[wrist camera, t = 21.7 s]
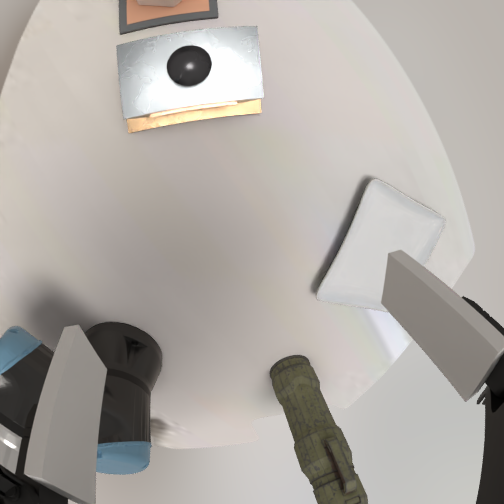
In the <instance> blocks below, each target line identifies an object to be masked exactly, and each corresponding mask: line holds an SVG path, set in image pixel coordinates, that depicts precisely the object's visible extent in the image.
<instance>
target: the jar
mask: <svg viewBox="0 0 504 504" xmlns="http://www.w3.org/2000/svg"><path fill="white" fill-rule="evenodd" d="M136 1H137V3H138V4H139V5H150V6H166V7H175V6H176V5H177V4H178V3H180V2H181V1H182V0H136Z"/></svg>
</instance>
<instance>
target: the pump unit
mask: <svg viewBox="0 0 504 504" xmlns="http://www.w3.org/2000/svg"><path fill="white" fill-rule="evenodd" d="M116 47H117V62H118V74H119V85H120V94H121V103H122V111H123V118H124V119H127V124H128V131H129V133H133V132H137V131H141V130H146V129H150V128H155V127H160V126H165V125H171V124H176V123H182V122H188V121H194V120H201V119H208V118H216V117H224V116H233V115H243V114H255V113H261V103H260V99H262V98H264V91H263V80H262V70H261V59H260V49H259V39H258V29H257V26H238V27H221V28H209V29H199V30H191V31H184V32H177V33H171V34H165V35H160V36H155V37H150V38H145V39H141V40H136V41H132V42H128V43H125V44H121V45H117V46H116Z"/></svg>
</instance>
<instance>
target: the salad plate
mask: <svg viewBox="0 0 504 504" xmlns="http://www.w3.org/2000/svg"><path fill="white" fill-rule="evenodd" d="M445 224H446V219H445V218H444V217H443V216H441V215H440V214H438V213H437V212H435V211H433V210H431V209H429V208H427V207H426V206H424V205H422V204H420V203H418V202H417V201H415V200H413V199H412V198H410V197H408V196H407V195H405V194H403V193H402V192H400V191H398V190H397V189H395V188H394V187H392V186H390V185H389V184H387V183H385V182H383V181H381V180H379V179H372V180H371V181H370V182H369V183H368V184H367V186H366V188H365V190H364V193H363V196H362V198H361V201H360V204H359V206H358V209H357V211H356V214H355V216H354V218H353V221H352V223H351V225H350V228H349V230H348V232H347V234H346V236H345V239H344V241H343V243H342V245H341V247H340V249H339V251H338V253H337V255H336V257H335V259H334V261H333V262H332V264H331V266H330V268H329V270H328V272H327V273H326V275H325V277H324V279H323V280H322V282H321V284H320V286H319V288H318V290H317V292H316V299H317V300H319V301H323V302H328V303H334V304H341V305H347V306H354V307H360V308H367V309H373V310H378V311H383V312H389V311H388V310H387V309H386V308H385V307H384V306H383V305H382V304H381V299H382V294H383V287H384V281H385V274H386V266H387V258H388V253H391V252H394V251H397V250H402V251H404V252H405V253H407V254H408V255H409V256H410V257H412V258H413V259H414V260H416V261H417V262H418V263H420V264H421V265H422V266H424V267H425V265H426V263H427V261H428V259H429V257H430V255H431V253H432V251H433V249H434V247H435V246H436V244H437V242H438V239H439V237H440V235H441V233H442V231H443V229H444V226H445ZM389 313H390V312H389Z"/></svg>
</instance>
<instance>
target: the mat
mask: <svg viewBox="0 0 504 504" xmlns="http://www.w3.org/2000/svg"><path fill="white" fill-rule="evenodd" d="M213 18H218V8H217V0H182V1H181V2H180V3H178V4H177V5H176V6H175V7H166V6H150V5H139V4H138V3H137V1H136V0H119V30H120V34H121V35H122V34H125V33H129V32H133V31H137V30H142V29H146V28H151V27H156V26H161V25H167V24H173V23H179V22H186V21H194V20H202V19H213Z"/></svg>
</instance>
